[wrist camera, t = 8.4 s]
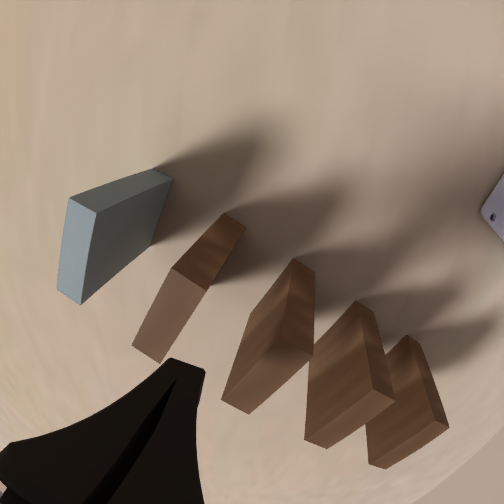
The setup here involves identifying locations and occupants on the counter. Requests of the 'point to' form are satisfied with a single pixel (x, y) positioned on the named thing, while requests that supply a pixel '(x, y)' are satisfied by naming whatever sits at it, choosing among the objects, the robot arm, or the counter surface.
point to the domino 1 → (108, 231)
